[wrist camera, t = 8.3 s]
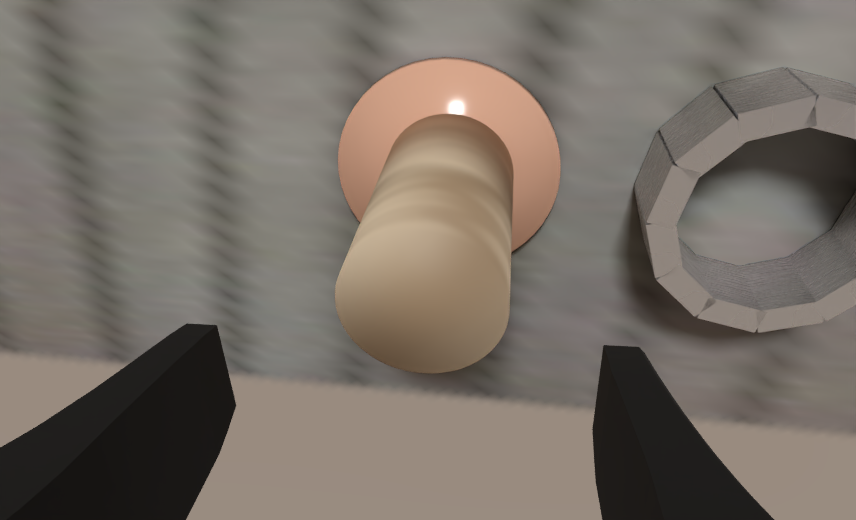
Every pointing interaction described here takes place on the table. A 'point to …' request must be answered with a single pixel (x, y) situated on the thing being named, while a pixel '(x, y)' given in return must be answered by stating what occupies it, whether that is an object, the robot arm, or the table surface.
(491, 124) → the coaster
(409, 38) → the table surface
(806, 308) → the collar
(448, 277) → the peg
